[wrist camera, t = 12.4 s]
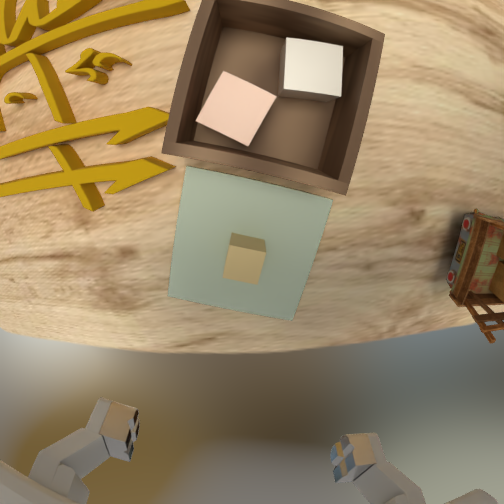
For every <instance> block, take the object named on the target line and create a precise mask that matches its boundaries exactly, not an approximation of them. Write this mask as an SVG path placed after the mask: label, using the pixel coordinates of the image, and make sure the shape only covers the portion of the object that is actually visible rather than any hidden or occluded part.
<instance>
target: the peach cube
mask: <svg viewBox="0 0 504 504" xmlns="http://www.w3.org/2000/svg"><path fill="white" fill-rule="evenodd" d="M276 97H277V96H275V95H273V94H271V93H269V92H267V91H265V90H263V89H261V88H259V87H257V86H255V85H253V84H251V83H249V82H247V81H245V80H243V79H240V78H238V77H236V76H234V75H232V74H229V73H227V72H225V71H223V73H222V74H221V76H220V78H219V79H218V81H217V83H216V85H215V86H214V88H213V90H212V92H211V93H210V95H209V97H208V99H207V100H206V102H205V104H204V106H203V108H202V110H201V111H200V113H199V115H198V117H197V119H196V121H197V122H199V123H201V124H203V125H205V126H207V127H210V128H212V129H214V130H216V131H218V132H220V133H222V134H224V135H226V136H228V137H230V138H232V139H234V140H236V141H238V142H240V143H242V144H244V145H246V146H249V144H250V142H251V140H252V139H253V137H254V135H255V133H256V132H257V130H258V128H259V126H260V124H261V123H262V121H263V119H264V117H265V116H266V114H267V112H268V111H269V109H270V107H271V105H272V104H273V102H274V100H275V99H276Z"/></svg>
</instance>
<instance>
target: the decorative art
mask: <svg viewBox="0 0 504 504" xmlns="http://www.w3.org/2000/svg"><path fill="white" fill-rule="evenodd" d="M101 1H102V0H57V8H56V9H54V10H53V11H52V12H51V13H49V1H47V0H26V1H25V3H24V5H23V7H22V9H21V11H20V14H19V16H18V18H17V20H16V15H15V11H16V2H17V0H0V82H1V79H2V77H3V75H4V74H5V73H6V72H8V71H9V70H10V69H12V68H14V67H16V66H18V65H20V64H22V63H24V62H26V61H28V60H29V61H30V63H31V64H32V66H33V68H34V71H35V73H36V75H37V77H38V80H39V83H40V85H41V88H42V90H43V93H44V95H45V97H46V100H47V102H48V105H49V107H50V109H51V112H52V114H53V117H54V120H55V121H57V122H60V123H74V124H70V125H66V126H62V127H59V128H55V129H51V130H48V131H45V132H41V133H38V134H35V135H32V136H28V137H25V138H22V139H20V140H17V141H14V142H11V143H8V144H6V145H3V146H0V159H3V158H7V157H11V156H15V155H18V154H21V153H25V152H28V151H32V150H35V149H39V148H43V147H46V146H48V147H49V149H50V150H51V151H52V153H53V154H54V156H55V158H56V159H57V161H58V163H59V164H60V166H61V167H62V169H63V170H62V171H57V172H51V173H46V174H41V175H36V176H31V177H27V178H22V179H18V180H13V181H9V182H5V183H0V197H3V196H8V195H14V194H19V193H25V192H30V191H36V190H42V189H49V188H56V187H62V186H70V185H72V186H73V188H74V190H75V191H76V193H77V195H78V197H79V199H80V201H81V203H82V205H83V207H84V208H86V209H88V210H90V211H93V212H94V211H95V210H97V209H99V208H100V207H102V206H104V205H105V204H104V202H103V199H102V197H101V195H100V193H99V191H98V189H97V187H96V185H95V183H94V182H103V181H115V182H114V183H113V184H112V185H111V186H110V187H109V188H108V189H107V190H106V191H105V193H107V194H114V193H117V192H119V191H121V190H123V189H125V188H127V187H130V186H132V185H134V184H136V183H139V182H141V181H143V180H146V179H148V178H150V177H153V176H155V175H158V174H160V173H163V172H165V171H167V170H170V169H172V168H174V167H176V166H173V165H171V164H169V163H166V162H164V161H161V160H159V159H157V158H154V157H152V156H151V157H146V158H142V159H137V160H133V161H124V162H116V163H108V164H100V165H93V166H87V167H85V166H84V164H83V162H82V161H81V159H80V158H79V156H78V155H77V153H76V152H75V150H74V149H73V148H72V147H71V146H70V145H68V144H61V145H55V146H50V145H54V144H58V143H63V142H67V141H71V140H76V139H81V138H86V137H91V136H96V135H101V134H107V133H113V132H118V133H117V134H116V135H115V136H114V137H113V138H112V139H111V140H110V141H109V142H108V143H107V144H109V145H118V144H126V143H128V142H130V141H133V140H135V139H137V138H139V137H141V136H143V135H145V134H148V133H150V132H152V131H154V130H157V129H159V128H161V127H164V126H166V125H167V123H168V118H169V113H167V112H165V111H162V110H159V109H156V108H152V107H146V108H142V109H138V110H134V111H131V112H127V113H121V114H116V115H110V116H105V117H100V118H96V119H91V120H87V121H82V122H78V123H76V119H75V117H74V114H73V112H72V109H71V107H70V104H69V102H68V99H67V97H66V94H65V92H64V90H63V87H62V85H61V83H60V81H59V78H58V76H57V74H56V72H55V70H54V68H53V66H52V64H51V62H50V61H49V60H48V58H47V57H46V56H42V55H41V54H44V53H46V52H49V51H51V50H53V49H56V48H58V47H61V46H63V45H66V44H68V43H71V42H74V41H76V40H79V39H82V38H85V37H88V36H91V35H94V34H97V33H101V32H104V31H107V30H111V29H115V28H118V27H122V26H126V25H130V24H134V23H139V22H143V21H148V20H153V19H159V18H165V17H169V16H173V15H177V14H181V13H184V12H187V11H190V9H189V7H188V5H187V3H186V1H185V0H143V1H140V2H137V3H133V4H129V5H126V6H122V7H118V8H115V9H111V10H107V11H104V12H101V13H97V14H94V15H91V16H88V17H85V18H82V19H79V20H76V21H74V22H71V21H72V20H74V19H76V18H78V17H79V16H81V15H82V14H84V13H85V12H87V11H88V10H90V9H91V8H92V7H94V6H95V5H97V4H98V3H99V2H101ZM69 22H71V23H69ZM67 23H68V24H67ZM36 27H38V28H41V29H44V30H47V31H49V32H46V33H44V34H42V35H40V36H38V37H36V38H33V39H31V38H32V36H33V34H34V32H35V29H36ZM4 45H9V46H14V47H16V48H14V49H12V50H10V51H8V52H7V53H6V51H5V46H4ZM80 58H81V59H80V60H79V61H78V62H77V63H76V64H74V65H73V66H72V67H70V68H69V69H67V70H66V71H65V72H66V73H70V74H74V75H79V76H81V75H90V78H89V79H87V81H91V82H95V83H99V84H106V83H108V76H107V74H105V73H103V72H100V71H97V70H94V69H93V68H94V67H95V66H97V67H100V68H103V69H106V70H109V71H111V70H114V69H112V66H113V65H114V64H115V63H118V62H124V63H127V64H129V65H131V66H132V64H131V63H130V62H129V61H127V60H125V59H123V58H121V57H119V56H117V55H115V54H112V53H101V52H99V51H96V50H94V49H92V48H88V49H86V50H84V51H83V52H82V53H81V55H80ZM23 98H24V99H37V97H36V96H35V95H33V94H31V93H18V92H12V93H9V94H7V95H6V97H5V99H4V102H5V103H7V104H11V103H25V102H24V101H23ZM0 131H6V128H5V125H4V121H3V117H2V114H1V109H0Z"/></svg>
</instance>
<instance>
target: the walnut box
mask: <svg viewBox="0 0 504 504" xmlns="http://www.w3.org/2000/svg"><path fill="white" fill-rule="evenodd" d="M286 37H287V38H296V39H304V40H311V41H317V42H323V43H329V44H334V45H339V46H343V64H342V89H341V97H339V98H336V99H334V100H331V101H329V102H322V101H314V100H307V99H298V98H289V97H279V96H278V89H279V72H280V54H281V50H282V47H283V45H284V42H285V40H286ZM384 37H385V34H383V33H381V32H379V31H377V30H375V29H372V28H370V27H368V26H365V25H363V24H360V23H358V22H355V21H353V20H350V19H347V18H345V17H342V16H339V15H336V14H333V13H330V12H327V11H324V10H321V9H318V8H315V7H311V6H308V5H304V4H301V3H297V2H293V1H289V0H202V2H201V5H200V8H199V10H198V13H197V16H196V19H195V22H194V25H193V28H192V31H191V35H190V38H189V41H188V44H187V48H186V51H185V54H184V58H183V61H182V65H181V69H180V72H179V76H178V80H177V84H176V88H175V92H174V96H173V100H172V105H171V109H170V113H169V118H168V123H167V127H166V132H165V137H164V142H163V148H162V153H163V154H169V155H175V156H181V157H186V158H192V159H197V160H202V161H208V162H213V163H218V164H222V165H227V166H232V167H237V168H241V169H246V170H250V171H254V172H259V173H263V174H267V175H271V176H276V177H280V178H284V179H288V180H291V181H295V182H299V183H303V184H307V185H310V186H314V187H318V188H321V189H325V190H328V191H332V192H335V193H339V194H342V195H345V196H346V193H347V190H348V187H349V183H350V180H351V177H352V173H353V170H354V166H355V163H356V159H357V155H358V152H359V148H360V144H361V141H362V137H363V133H364V129H365V125H366V121H367V117H368V113H369V109H370V105H371V100H372V96H373V92H374V87H375V83H376V78H377V73H378V68H379V63H380V58H381V53H382V48H383V42H384ZM223 71H225V72H227V73H229V74H232V75H234V76H236V77H238V78H240V79H243V80H245V81H247V82H249V83H251V84H253V85H255V86H257V87H259V88H261V89H263V90H265V91H267V92H269V93H271V94H273V95H275V96H277V97H276V99H275V100H274V102H273V104H272V105H271V107H270V109H269V111H268V112H267V114H266V116H265V117H264V119H263V121H262V123H261V124H260V126H259V128H258V130H257V132H256V133H255V135H254V137H253V139H252V140H251V142H250V144H249V146H246V145H244V144H242V143H240V142H238V141H236V140H234V139H232V138H230V137H228V136H226V135H224V134H222V133H220V132H218V131H216V130H214V129H212V128H210V127H207V126H205V125H203V124H201V123H199V122H197V121H196V119H197V117H198V115H199V113H200V111H201V110H202V108H203V106H204V104H205V102H206V100H207V99H208V97H209V95H210V93H211V92H212V90H213V88H214V86H215V85H216V83H217V81H218V79H219V78H220V76H221V74H222V73H223Z"/></svg>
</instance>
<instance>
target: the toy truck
mask: <svg viewBox="0 0 504 504" xmlns="http://www.w3.org/2000/svg"><path fill="white" fill-rule="evenodd" d="M446 280H447V282H448V284H449V286H450V288H452V289H451V290H450V294H449V296H450V297H451V299H452V300H453V301H454V302H455V304H456V305H457V306H458V307H464V306H466V307H467V309H468V310H469V312H470V313H471V315H472V317H473V319H474V320H475V322H477V324H478V325H479V327H480V330H481V332H483V333H484V334H485V336H486V338H487V339H488V341H489V342H490V343H494V342H495V341H496V339H495V338H494V336H493V334H492V333H491V331H496V330H502V329H503V330H504V322H503V321H502V320H504V312H501V313H494V312H493V311H492V310H491V309H490V308H489V307H488V306H487V305H501V304H504V220H503V219H501V218H500V219H499V217H498V218H497V217H490V216H487V215H485V214H482V213H480V212H478V209H475V210H474V213H470V214H465V216H464V220H463V223H462V228H461V232H460V236H459V240H458V243H457V247H456V250H455V254H454V257H453V260H452V263H451V266H450V270H449V272H448V274H447V278H446ZM473 306H481V307H482V308H483V309H484V310H485V311H486V312H487V313H488V314H481V315H479V314H478V313H477V312H476V310H475V309H474V308H473ZM487 321H496V322H497V323H498V324H496V325H489V326H486V324H485V323H484V322H487Z"/></svg>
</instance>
